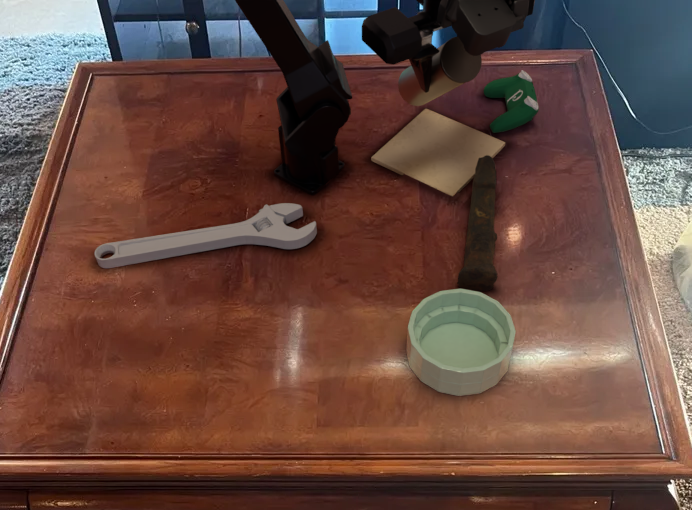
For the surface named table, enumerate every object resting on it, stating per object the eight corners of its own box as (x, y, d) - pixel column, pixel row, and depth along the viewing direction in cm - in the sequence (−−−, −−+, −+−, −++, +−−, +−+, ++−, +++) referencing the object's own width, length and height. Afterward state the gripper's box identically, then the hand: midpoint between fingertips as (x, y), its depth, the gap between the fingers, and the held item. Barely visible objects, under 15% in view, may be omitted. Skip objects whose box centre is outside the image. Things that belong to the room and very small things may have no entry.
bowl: (387, 364, 82) (387, 337, 78) (443, 302, 86) (446, 273, 83) (473, 416, 77) (478, 390, 74) (527, 347, 82) (534, 320, 79)
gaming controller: (506, 147, 104) (545, 119, 100) (487, 130, 102) (527, 101, 98) (497, 102, 109) (534, 75, 106) (480, 86, 107) (517, 57, 104)
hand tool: (493, 297, 86) (499, 267, 83) (456, 292, 87) (460, 262, 83) (506, 179, 98) (512, 149, 94) (473, 176, 98) (477, 145, 94)
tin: (389, 84, 98) (432, 56, 86) (415, 57, 99) (461, 26, 87) (416, 115, 99) (461, 91, 88) (441, 88, 100) (490, 61, 89)
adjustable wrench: (97, 271, 91) (92, 261, 90) (101, 231, 95) (97, 220, 94) (316, 247, 92) (315, 236, 90) (311, 209, 96) (310, 197, 94)
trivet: (370, 160, 101) (371, 157, 100) (425, 111, 106) (425, 107, 106) (452, 199, 96) (452, 195, 95) (505, 146, 101) (505, 142, 101)
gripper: (419, 14, 74) (411, 150, 86) (582, -43, 78) (553, 93, 91) (358, -39, 80) (359, 95, 92) (512, -88, 85) (494, 45, 97)
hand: (443, 83), depth 93 cm, fingers closed on tin, 5 cm apart
